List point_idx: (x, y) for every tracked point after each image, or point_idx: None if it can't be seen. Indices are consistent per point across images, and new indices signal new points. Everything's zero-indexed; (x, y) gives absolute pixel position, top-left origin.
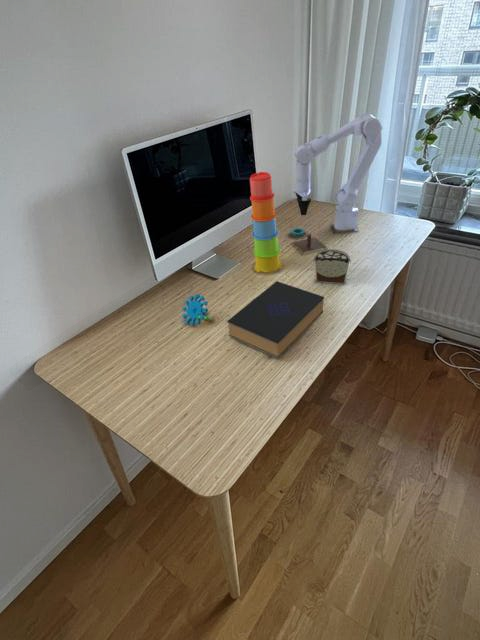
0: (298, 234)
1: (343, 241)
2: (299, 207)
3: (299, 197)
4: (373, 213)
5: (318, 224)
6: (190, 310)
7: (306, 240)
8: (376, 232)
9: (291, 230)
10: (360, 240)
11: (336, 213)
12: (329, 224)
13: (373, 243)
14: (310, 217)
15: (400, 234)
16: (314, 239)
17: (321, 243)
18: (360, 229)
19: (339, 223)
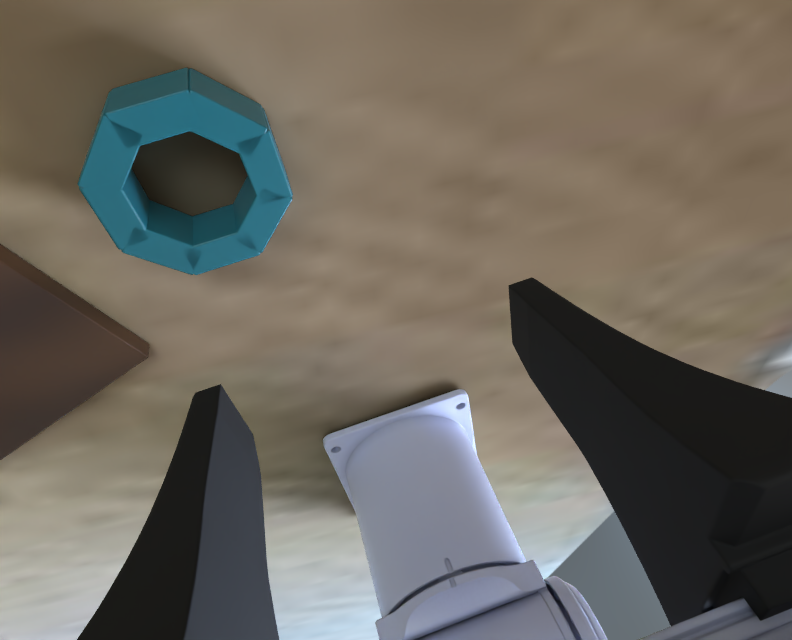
0: (99, 216)
1: None
2: (516, 295)
3: (630, 437)
4: (607, 503)
5: (488, 295)
6: None
7: (27, 311)
8: (361, 573)
9: (177, 99)
10: None
11: (412, 558)
12: (481, 366)
13: None
14: (656, 193)
15: (349, 629)
16: (96, 368)
17: (32, 436)
18: None
19: (363, 507)
